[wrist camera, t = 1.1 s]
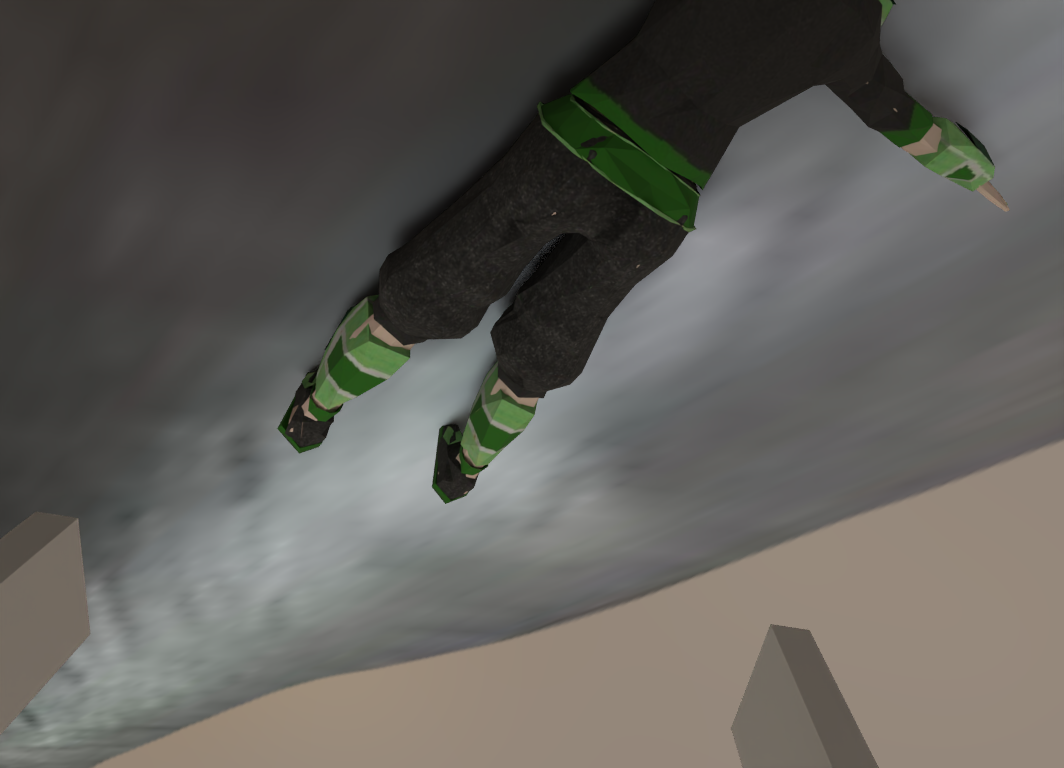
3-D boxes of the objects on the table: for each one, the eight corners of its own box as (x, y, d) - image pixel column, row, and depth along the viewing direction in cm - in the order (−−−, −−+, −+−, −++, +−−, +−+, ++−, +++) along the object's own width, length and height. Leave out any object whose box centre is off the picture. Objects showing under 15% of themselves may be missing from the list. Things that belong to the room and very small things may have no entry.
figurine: (582, 483, 39) (1120, 25, 23) (597, 577, 35) (1274, 93, 19) (107, 290, 28) (524, -883, 12) (39, 394, 23) (559, -1256, 7)
